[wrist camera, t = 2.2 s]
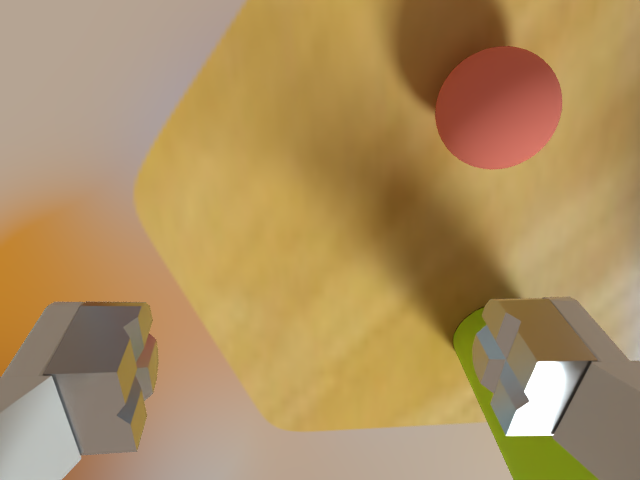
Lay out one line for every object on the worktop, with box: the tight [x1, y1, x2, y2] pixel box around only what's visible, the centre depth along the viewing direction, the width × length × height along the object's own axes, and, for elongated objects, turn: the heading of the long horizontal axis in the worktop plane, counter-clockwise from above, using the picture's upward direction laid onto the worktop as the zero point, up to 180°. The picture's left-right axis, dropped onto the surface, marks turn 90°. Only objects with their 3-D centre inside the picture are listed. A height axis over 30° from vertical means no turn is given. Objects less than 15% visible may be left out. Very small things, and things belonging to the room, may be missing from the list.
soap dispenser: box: [453, 308, 599, 480], centre depth 25 cm, size 6×7×20 cm
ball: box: [435, 46, 562, 169], centre depth 22 cm, size 6×6×6 cm
